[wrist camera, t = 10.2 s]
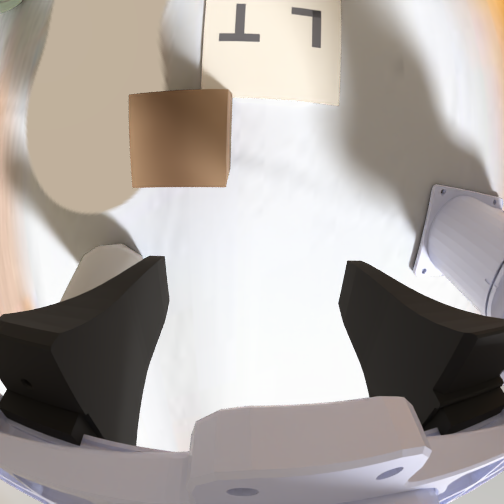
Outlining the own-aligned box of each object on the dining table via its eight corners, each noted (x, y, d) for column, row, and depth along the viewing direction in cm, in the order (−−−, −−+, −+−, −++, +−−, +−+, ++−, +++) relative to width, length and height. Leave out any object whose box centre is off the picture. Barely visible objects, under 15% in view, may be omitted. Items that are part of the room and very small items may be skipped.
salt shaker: (81, 244, 21) (-16, 349, 10) (139, 224, 21) (45, 341, 9) (111, 303, 24) (48, 422, 12) (168, 289, 23) (119, 428, 11)
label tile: (339, -27, 13) (339, -28, 13) (337, 106, 18) (338, 105, 17) (210, -37, 13) (210, -39, 12) (201, 97, 17) (200, 97, 17)
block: (232, 93, 17) (228, 89, 13) (230, 167, 19) (225, 187, 15) (156, 96, 17) (128, 94, 12) (157, 167, 19) (132, 187, 15)
